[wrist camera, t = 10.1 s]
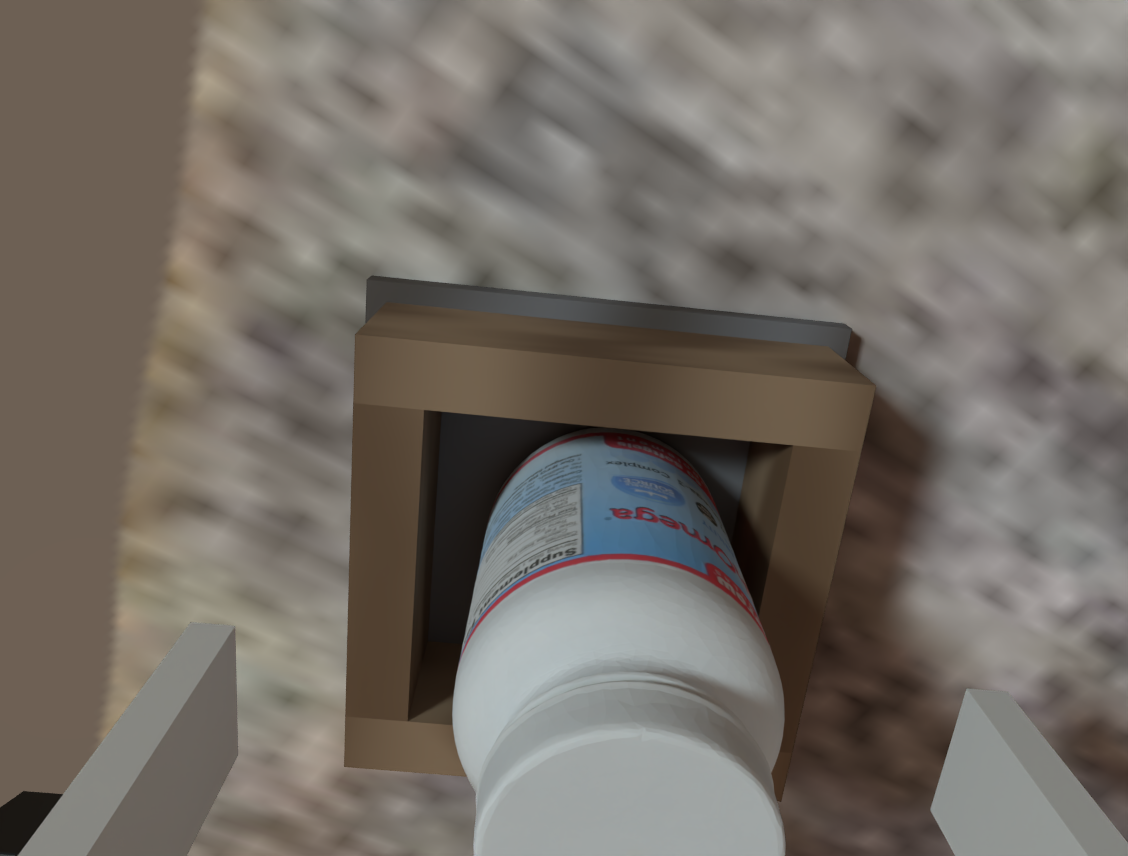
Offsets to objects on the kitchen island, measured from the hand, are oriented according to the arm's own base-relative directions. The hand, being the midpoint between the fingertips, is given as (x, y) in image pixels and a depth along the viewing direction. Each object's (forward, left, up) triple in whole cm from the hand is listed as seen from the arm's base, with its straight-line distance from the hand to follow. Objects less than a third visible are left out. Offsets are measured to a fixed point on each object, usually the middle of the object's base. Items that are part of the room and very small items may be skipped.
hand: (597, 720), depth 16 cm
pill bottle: (0, 0, -8) cm, 8 cm away
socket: (0, 0, -9) cm, 9 cm away
